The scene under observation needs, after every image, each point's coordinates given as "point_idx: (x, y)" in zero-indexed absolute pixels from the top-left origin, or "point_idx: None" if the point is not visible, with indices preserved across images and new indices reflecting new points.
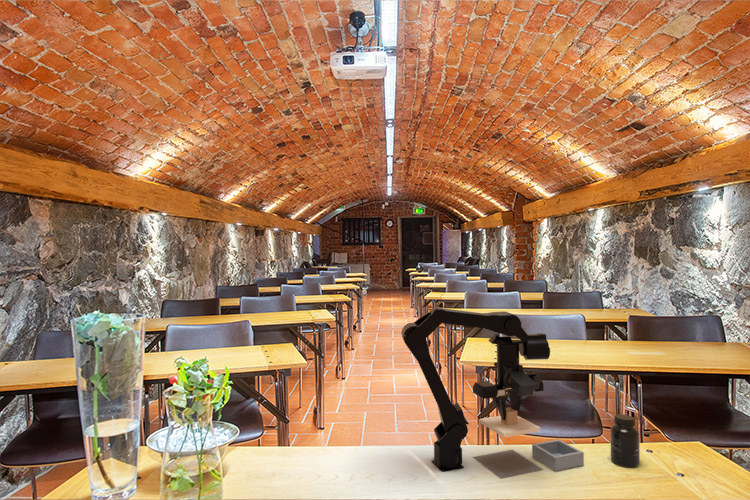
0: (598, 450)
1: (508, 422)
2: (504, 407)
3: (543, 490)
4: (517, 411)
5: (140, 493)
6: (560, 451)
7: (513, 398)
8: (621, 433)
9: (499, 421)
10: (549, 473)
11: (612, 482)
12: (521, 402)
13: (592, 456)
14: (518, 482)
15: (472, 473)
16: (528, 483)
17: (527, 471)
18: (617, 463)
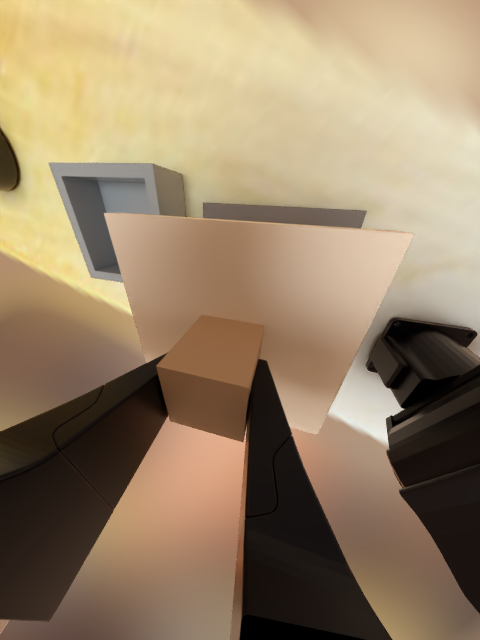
0: (36, 239)
1: (256, 334)
2: (266, 446)
3: (295, 65)
4: (153, 366)
5: None
6: (114, 258)
7: (95, 488)
8: None
9: None
10: (197, 185)
11: (46, 24)
12: (53, 413)
13: (56, 220)
14: (323, 173)
15: (393, 290)
16: (300, 150)
17: (253, 214)
18: (3, 141)
